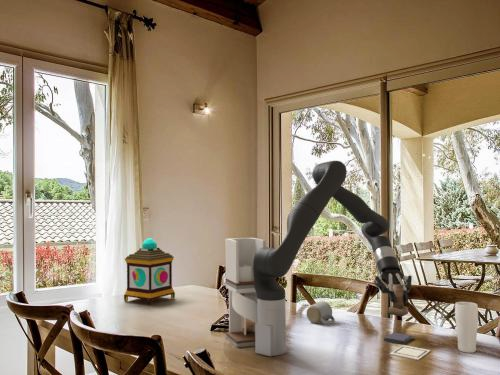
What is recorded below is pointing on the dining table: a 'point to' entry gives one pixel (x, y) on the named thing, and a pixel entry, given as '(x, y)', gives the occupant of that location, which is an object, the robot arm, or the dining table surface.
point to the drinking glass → (466, 325)
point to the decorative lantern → (149, 273)
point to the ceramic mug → (320, 313)
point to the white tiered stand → (241, 289)
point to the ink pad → (398, 338)
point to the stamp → (398, 302)
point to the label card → (410, 352)
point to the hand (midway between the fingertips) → (400, 301)
